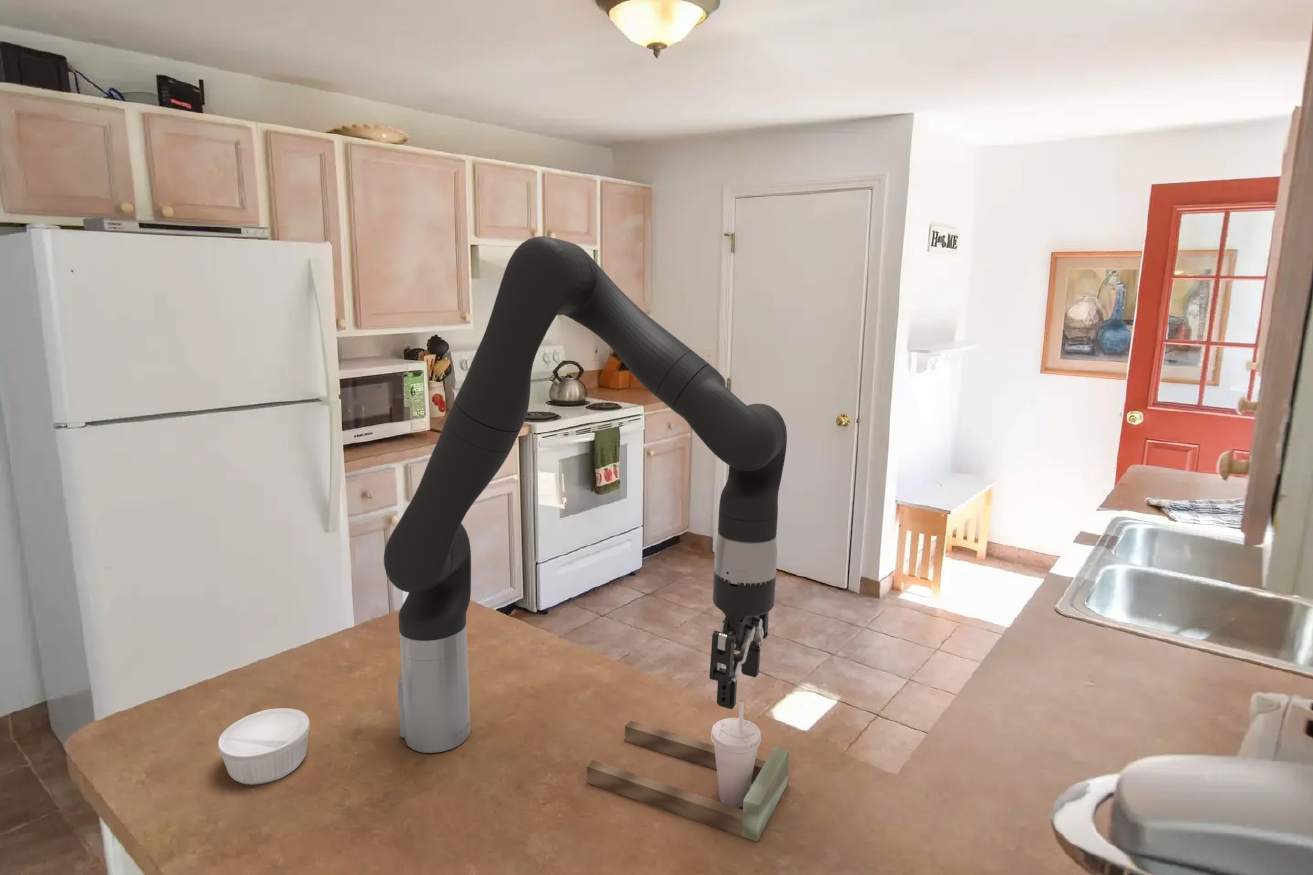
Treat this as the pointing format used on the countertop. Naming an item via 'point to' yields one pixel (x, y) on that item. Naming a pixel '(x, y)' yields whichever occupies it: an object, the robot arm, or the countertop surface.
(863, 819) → the countertop surface
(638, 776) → the guide channel
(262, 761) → the ramekin
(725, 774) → the smoothie
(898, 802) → the countertop surface
